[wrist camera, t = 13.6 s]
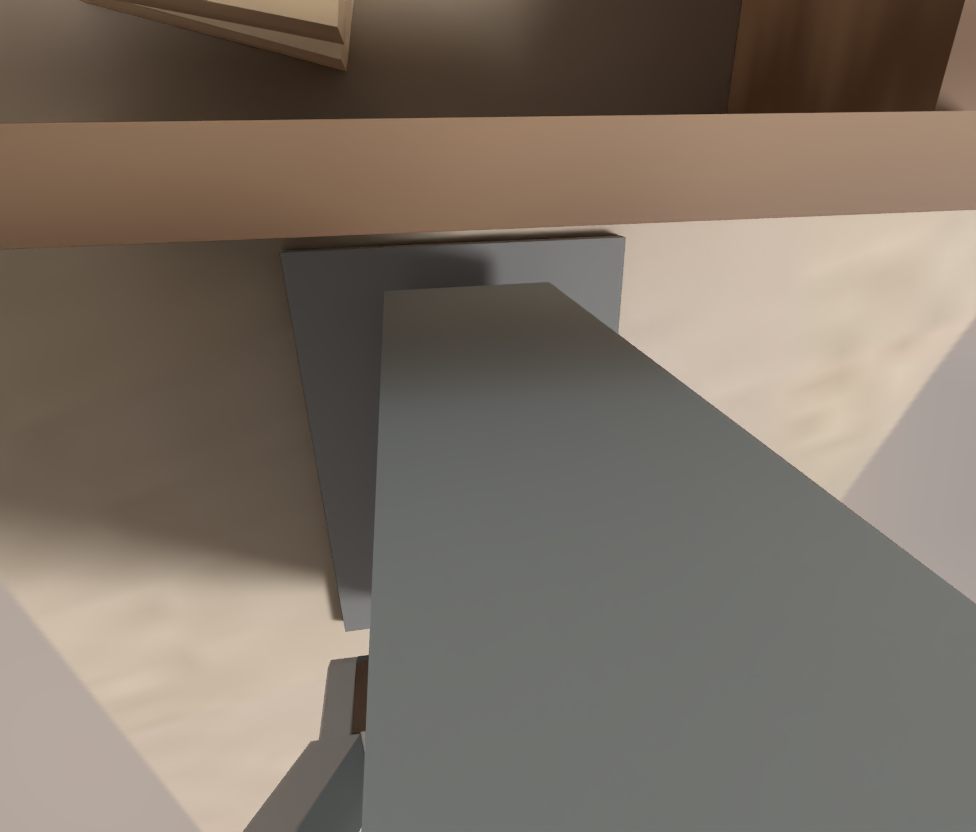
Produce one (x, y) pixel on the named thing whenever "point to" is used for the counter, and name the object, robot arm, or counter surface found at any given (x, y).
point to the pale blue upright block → (633, 603)
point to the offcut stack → (259, 23)
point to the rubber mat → (358, 349)
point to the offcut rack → (544, 150)
